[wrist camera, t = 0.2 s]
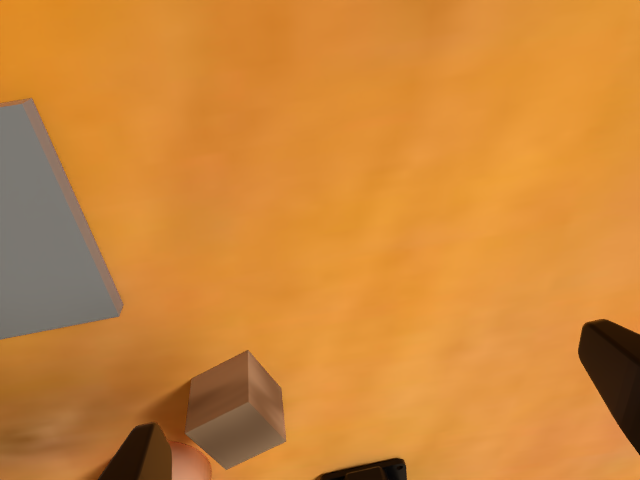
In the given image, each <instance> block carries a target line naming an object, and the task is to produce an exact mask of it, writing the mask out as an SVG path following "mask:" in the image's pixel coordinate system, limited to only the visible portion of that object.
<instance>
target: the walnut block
mask: <svg viewBox="0 0 640 480" xmlns="http://www.w3.org/2000/svg"><path fill="white" fill-rule="evenodd" d="M185 434H186V435H187V436H188V437H189V438H190V439H192V440H193V441H194V442H195V443H196V444H197V445H198V446H200V447H201V448H202V449H203V450H204V451H205V452H206V453H208V454H209V455H210V456H211V457H212V458H213V459H214V460H216V461H217V462H218V463H219V464H220V465H221V466H222V467H224V468H225V469H226V470H227V469H229V468H231V467H233V466H235V465H238V464H240V463H242V462H244V461H246V460H248V459H250V458H252V457H254V456H256V455H259V454H261V453H263V452H265V451H267V450H269V449H271V448H273V447H275V446H277V445H280V444H282V443H284V442H286V433H285V423H284V412H283V402H282V391H281V388H280V386H279V385H278V384H277V383H276V382H275V381H274V380H273V378H272V377H271V376H270V375H269V374H268V373H267V371H266V370H265V369H264V368H263V367H262V366H261V365H260V363H259V362H258V361H257V360H256V359H255V358H254V356H253V355H252V354H251V353H250V352H249V351H248V350H247V351H245V352H243V353H241V354H239V355H237V356H235V357H233V358H231V359H229V360H227V361H225V362H223V363H221V364H219V365H217V366H215V367H213V368H211V369H210V370H208V371H206V372H204V373H202V374H200V375H198V376H196V377H194V378H192V379H191V387H190V395H189V403H188V411H187V419H186V426H185Z"/></svg>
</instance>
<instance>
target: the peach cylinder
mask: <svg viewBox="0 0 640 480" xmlns="http://www.w3.org/2000/svg"><path fill="white" fill-rule="evenodd" d="M168 443H169V445H170V447H171V451H172V480H211V472H212V471H211V465H210V462H209V461H208V459H207V458H206V456H205V455H204V454H202V453H201V452H200V451H198V450H197V449H195V448H193V447H191V446H189V445H186V444H183V443H179V442H173V441H168ZM109 463H110V462H109Z"/></svg>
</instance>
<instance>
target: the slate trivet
mask: <svg viewBox="0 0 640 480" xmlns="http://www.w3.org/2000/svg"><path fill="white" fill-rule="evenodd" d="M122 307H123V302H122V300H121V298H120V296H119V293H118V291H117V289H116V287H115V284H114V282H113V280H112V278H111V275H110V273H109V271H108V268H107V266H106V264H105V262H104V259H103V257H102V255H101V253H100V250H99V248H98V246H97V244H96V241H95V239H94V237H93V235H92V232H91V230H90V228H89V226H88V223H87V221H86V219H85V217H84V214H83V212H82V210H81V208H80V205H79V203H78V201H77V199H76V196H75V194H74V192H73V190H72V187H71V185H70V183H69V181H68V178H67V176H66V174H65V172H64V169H63V167H62V165H61V163H60V160H59V158H58V156H57V154H56V151H55V149H54V147H53V145H52V142H51V140H50V138H49V136H48V133H47V131H46V129H45V127H44V124H43V122H42V120H41V118H40V115H39V113H38V111H37V109H36V106H35V104H34V102H33V100H32V98H29V99H23V100H17V101H11V102H5V103H0V339H5V338H10V337H15V336H21V335H26V334H31V333H36V332H41V331H46V330H52V329H57V328H62V327H67V326H72V325H77V324H83V323H88V322H93V321H98V320H103V319H108V318H114V317H119V316H120V313H121V310H122Z"/></svg>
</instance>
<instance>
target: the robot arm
mask: <svg viewBox="0 0 640 480" xmlns="http://www.w3.org/2000/svg"><path fill="white" fill-rule="evenodd" d="M578 354H579V358H580V361H581V363H582V364H583V366H584V368H585V369H586V371H587V373H588V375H589V376H590V378H591V380H592V381H593V383H594V385H595V387H596V388H597V390H598V392H599V393H600V395H601V397H602V398H603V400H604V402H605V404H606V405H607V407H608V409H609V410H610V412H611V414H612V416H613V417H614V419H615V420H616V422H617V424H618V425H619V427H620V428H621V430H622V431H623V433H624V434H625V435H626V437H627V438H628V440H629V441H630V442H631V444H632V445H633V447H634V448H635V449H636V451H637V452H638V453H639V455H640V334H638V333H635V332H633V331H631V330H629V329H627V328H624V327H622V326H620V325H618V324H616V323H613V322H611V321H609V320H606V319H599V320H595V321H591V322H587V323H585V324H584V325H583V327H582V332H581V337H580V342H579V348H578ZM98 480H172V451H171V447H170V445H169V443H168V441H167V439H166V437H165V435H164V433H163V432H162V430H161V428H160V426H159V425H158V424H157V423H156V422H150V423H146V424H142V425H138V426H136V427H135V428H134V429H133V430H132V431H131V433H130V434H129V435H128V437H127V438H126V440H125V441H124V443H123V444H122V446H121V447H120V448H119V450H118V451H117V453H116V454H115V456H114V457H113V458H112V460H111V461H110V463H109V464H108V466H107V467H106V469H105V470H104V471H103V473H102V474H101V476H100V477H99V479H98ZM320 480H407V474H406V465H405V462H404V460H403V459H395V460H391V461H386V462H381V463H377V464H372V465H368V466H363V467H359V468H354V469H350V470H345V471H340V472H336V473H331V474H327V475H324V476H322V477H321V478H320Z"/></svg>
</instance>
